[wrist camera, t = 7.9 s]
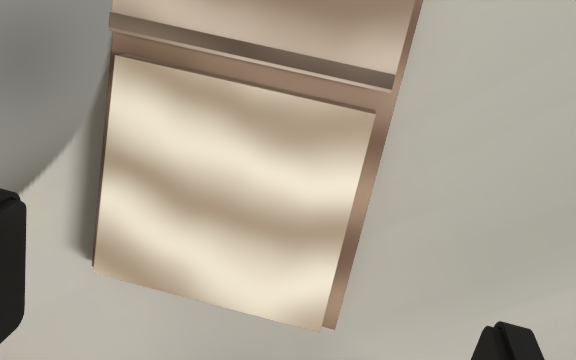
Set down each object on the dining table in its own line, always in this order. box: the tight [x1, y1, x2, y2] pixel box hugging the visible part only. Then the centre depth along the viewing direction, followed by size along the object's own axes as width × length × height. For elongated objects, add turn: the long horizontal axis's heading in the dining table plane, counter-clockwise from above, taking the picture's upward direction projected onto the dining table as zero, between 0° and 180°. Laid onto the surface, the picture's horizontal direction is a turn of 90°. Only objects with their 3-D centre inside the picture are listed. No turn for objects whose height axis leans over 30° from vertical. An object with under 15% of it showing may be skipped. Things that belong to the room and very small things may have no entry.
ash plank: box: [93, 54, 376, 332], centre depth 33 cm, size 14×15×2 cm
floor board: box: [92, 0, 423, 330], centre depth 32 cm, size 26×17×3 cm, turn 169°
